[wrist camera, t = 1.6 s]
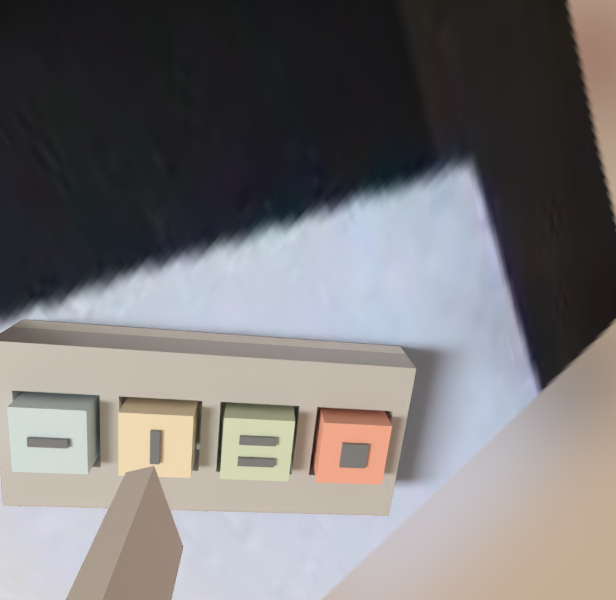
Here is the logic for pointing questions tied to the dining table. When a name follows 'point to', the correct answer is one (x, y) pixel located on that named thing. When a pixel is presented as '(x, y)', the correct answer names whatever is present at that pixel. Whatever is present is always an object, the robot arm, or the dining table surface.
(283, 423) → the key sage
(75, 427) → the key blue
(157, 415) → the key sand
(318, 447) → the key coral
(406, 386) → the keypad
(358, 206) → the dining table surface
